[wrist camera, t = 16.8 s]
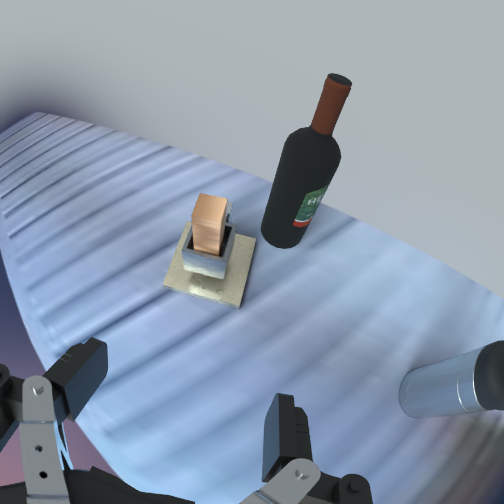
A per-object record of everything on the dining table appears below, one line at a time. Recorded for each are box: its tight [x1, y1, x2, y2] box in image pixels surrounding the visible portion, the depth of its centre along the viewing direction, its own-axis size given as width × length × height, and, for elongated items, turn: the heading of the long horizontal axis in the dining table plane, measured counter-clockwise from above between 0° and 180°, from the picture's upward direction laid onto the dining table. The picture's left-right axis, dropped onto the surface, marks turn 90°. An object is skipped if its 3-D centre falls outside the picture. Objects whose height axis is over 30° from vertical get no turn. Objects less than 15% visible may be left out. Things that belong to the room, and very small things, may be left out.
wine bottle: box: [261, 73, 352, 249], centre depth 38 cm, size 8×8×30 cm
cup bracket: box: [163, 201, 256, 309], centre depth 42 cm, size 12×12×10 cm
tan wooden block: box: [192, 193, 228, 257], centre depth 36 cm, size 3×3×12 cm
